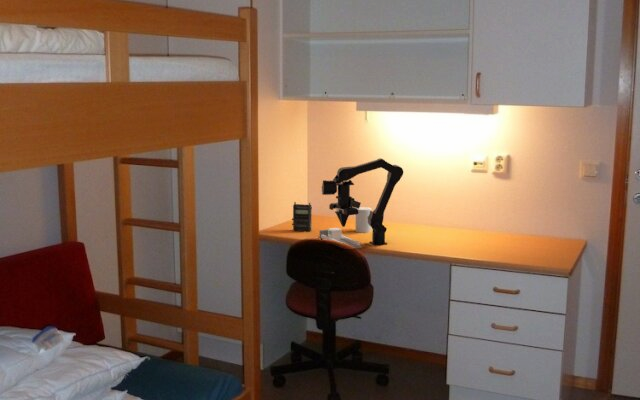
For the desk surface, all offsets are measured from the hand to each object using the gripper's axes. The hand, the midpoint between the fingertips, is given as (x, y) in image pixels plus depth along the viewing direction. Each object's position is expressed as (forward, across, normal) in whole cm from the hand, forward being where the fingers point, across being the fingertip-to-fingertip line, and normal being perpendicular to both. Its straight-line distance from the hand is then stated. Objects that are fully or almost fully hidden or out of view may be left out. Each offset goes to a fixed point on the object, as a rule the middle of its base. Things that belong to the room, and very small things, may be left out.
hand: (343, 226), depth 343 cm
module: (+8, +8, 0) cm, 11 cm away
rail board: (+9, +4, 0) cm, 9 cm away
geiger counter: (+9, +36, +5) cm, 38 cm away
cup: (+9, +23, -24) cm, 34 cm away
